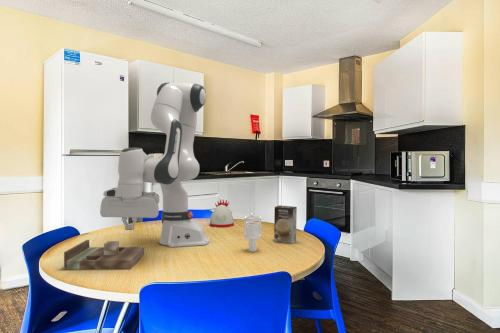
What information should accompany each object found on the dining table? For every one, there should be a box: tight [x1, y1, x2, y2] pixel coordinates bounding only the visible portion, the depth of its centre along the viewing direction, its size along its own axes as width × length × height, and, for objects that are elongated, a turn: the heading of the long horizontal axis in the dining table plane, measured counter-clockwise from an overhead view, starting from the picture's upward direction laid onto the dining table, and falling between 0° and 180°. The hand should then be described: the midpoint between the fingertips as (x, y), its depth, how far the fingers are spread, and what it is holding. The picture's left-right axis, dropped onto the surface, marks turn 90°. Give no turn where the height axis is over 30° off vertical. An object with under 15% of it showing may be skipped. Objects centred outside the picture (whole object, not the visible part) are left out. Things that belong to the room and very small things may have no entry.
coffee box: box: [273, 205, 298, 245], centre depth 156 cm, size 9×6×16 cm
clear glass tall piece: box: [243, 212, 262, 252], centre depth 140 cm, size 7×7×15 cm
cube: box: [103, 240, 120, 255], centre depth 124 cm, size 4×4×4 cm
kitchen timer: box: [209, 199, 235, 229], centre depth 195 cm, size 14×14×15 cm
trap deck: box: [63, 239, 145, 271], centre depth 124 cm, size 22×18×6 cm
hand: (129, 229), depth 123 cm, fingers closed
